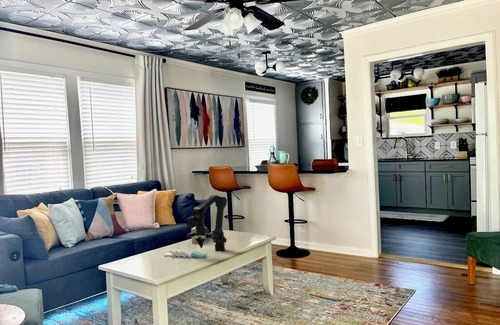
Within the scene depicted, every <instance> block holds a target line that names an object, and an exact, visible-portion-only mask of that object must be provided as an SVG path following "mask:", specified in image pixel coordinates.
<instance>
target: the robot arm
mask: <svg viewBox="0 0 500 325" xmlns="http://www.w3.org/2000/svg"><path fill="white" fill-rule="evenodd" d="M214 203H215V207H216V217H215V228H214V229H213V230H212V231H211V232H209V231H210V229H209V228H208V227H207V228H205V227H206V225H205V218H206V217H207V216H206V215H205V214H206V212H207V211H208V210H207V209H208V208H210V207H211V206H212V205H213V204H214ZM227 204H228V199H227V197H225V196H220V195H217V194H211V195H210V197H208V198H207V199H206V200H205V201H204V202H202V203H201V204H198V205H197V206H195V207H194V208H193V210H192V213H191V215H190V217H188V218H187V221H186V224H185V225H186V228H188V229H192V228H194V227H195V229H196V233H195V232H189V233H187V234H186V238H187V239H192V237H195V240H196V241H197V242H198V244H197V245H198V246H199V248H200V249H202V248H203V246H204V244H205V240H206V238H207V240H208V239H210V240H211V239H212V241H213V243H214V250H215V252H225V251H226V246H225V245H226V244H225V243H227V241H228V240H227V237H225V232H224V231H223V224H224V222H223V221H224V213H225V212H224V211H225V208H226V207H227ZM206 233H207V234H206ZM202 235H203V236H202Z"/></svg>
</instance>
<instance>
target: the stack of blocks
mask: <svg viewBox="0 0 500 325" xmlns="http://www.w3.org/2000/svg"><path fill="white" fill-rule="evenodd" d="M205 228H207V229H208V227H207V226H205ZM190 229H191V230H190V231H191V232H195V233H196V229H195V227H193V228H190ZM191 232H190V233H191ZM206 234H207V233H206ZM202 236H203V235H202ZM191 244H193V245H194V244H195V245H199V244H198V242H197V241H196V240H195V237H191Z"/></svg>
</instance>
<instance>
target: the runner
mask: <svg viewBox="0 0 500 325" xmlns="http://www.w3.org/2000/svg"><path fill="white" fill-rule="evenodd" d="M210 257H211V255H207V254H206V257H204V258H199V257H195V256H194V257H192V258H190V257H188V256H187V257H186V258H185V257H183V256H181V257H178V256H176V257H171V259H181V260H182V259H183V260H200V261H202V260H204V261H205V260H206V259H209V258H210Z"/></svg>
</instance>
